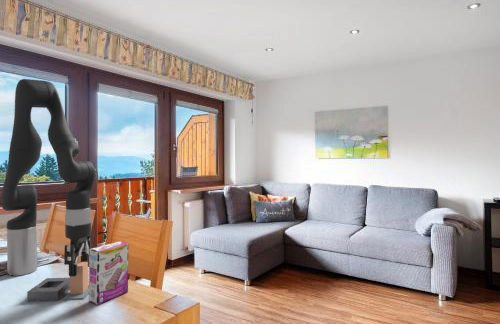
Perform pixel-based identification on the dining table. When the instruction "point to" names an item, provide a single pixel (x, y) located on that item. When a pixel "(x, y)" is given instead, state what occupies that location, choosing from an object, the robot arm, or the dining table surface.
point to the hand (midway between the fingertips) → (79, 271)
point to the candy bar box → (108, 272)
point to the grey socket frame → (49, 290)
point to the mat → (77, 295)
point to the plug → (79, 279)
